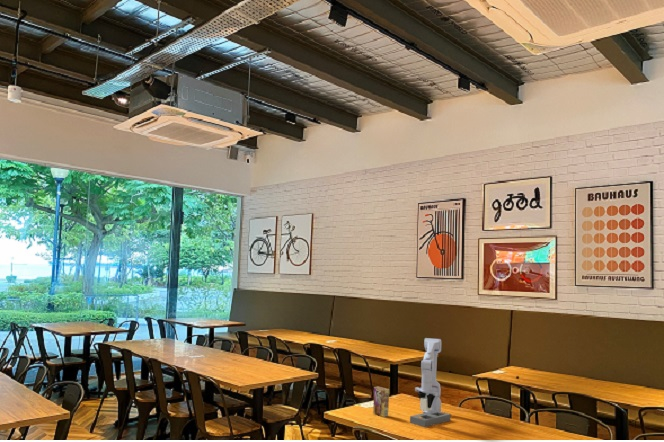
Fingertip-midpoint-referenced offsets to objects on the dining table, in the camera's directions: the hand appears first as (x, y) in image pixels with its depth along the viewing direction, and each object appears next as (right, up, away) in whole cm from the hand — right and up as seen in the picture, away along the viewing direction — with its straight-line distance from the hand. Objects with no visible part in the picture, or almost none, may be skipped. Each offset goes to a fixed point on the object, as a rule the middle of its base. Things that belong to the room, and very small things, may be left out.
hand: (426, 406), depth 287 cm
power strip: (+3, -10, +3) cm, 10 cm away
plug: (0, -2, 0) cm, 2 cm away
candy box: (-24, -9, +12) cm, 29 cm away
